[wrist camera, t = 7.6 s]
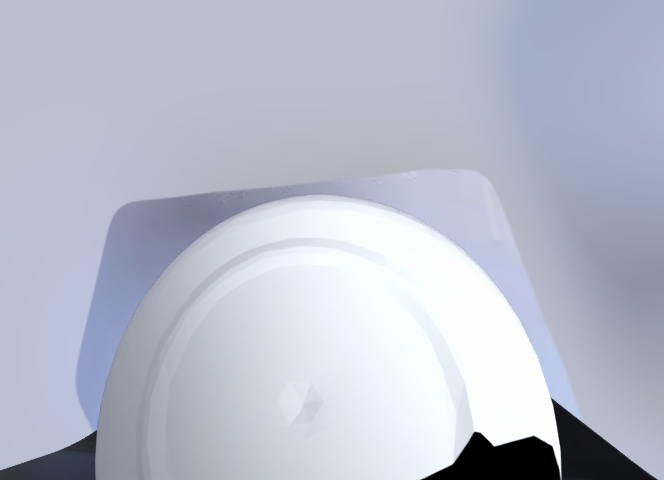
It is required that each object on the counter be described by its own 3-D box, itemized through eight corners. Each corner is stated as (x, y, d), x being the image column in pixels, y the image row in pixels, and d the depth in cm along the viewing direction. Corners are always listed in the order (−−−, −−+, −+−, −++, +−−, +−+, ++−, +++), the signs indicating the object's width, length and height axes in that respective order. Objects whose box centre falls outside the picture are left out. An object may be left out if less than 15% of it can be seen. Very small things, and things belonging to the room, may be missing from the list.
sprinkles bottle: (401, 360, 14) (750, 833, 1) (323, 371, 15) (15, 835, 2) (384, 280, 16) (478, 140, 3) (313, 293, 16) (94, 221, 3)
